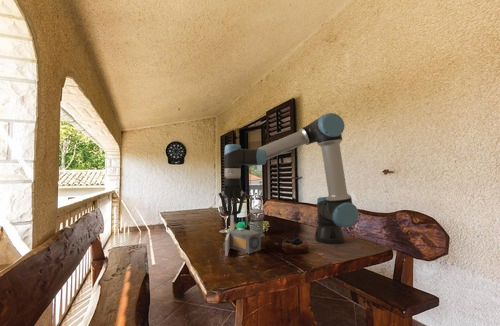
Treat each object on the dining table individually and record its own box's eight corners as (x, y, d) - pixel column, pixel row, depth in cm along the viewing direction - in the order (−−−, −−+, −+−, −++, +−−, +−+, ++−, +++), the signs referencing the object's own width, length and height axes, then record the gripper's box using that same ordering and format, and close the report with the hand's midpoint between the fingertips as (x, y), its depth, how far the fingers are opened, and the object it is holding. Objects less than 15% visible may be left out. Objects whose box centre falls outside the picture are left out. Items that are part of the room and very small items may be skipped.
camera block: (263, 250, 114) (262, 231, 114) (250, 254, 108) (250, 235, 109) (240, 244, 125) (240, 227, 125) (228, 247, 119) (228, 229, 119)
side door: (227, 255, 106) (227, 239, 106) (223, 255, 106) (223, 239, 106) (230, 247, 119) (230, 232, 119) (226, 247, 119) (226, 232, 119)
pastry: (279, 248, 118) (279, 235, 118) (303, 246, 120) (302, 234, 120) (285, 255, 107) (285, 242, 108) (311, 254, 109) (311, 240, 109)
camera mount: (255, 243, 127) (254, 223, 127) (241, 244, 125) (240, 224, 125) (249, 237, 139) (249, 219, 139) (236, 238, 137) (236, 220, 137)
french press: (259, 237, 137) (259, 193, 138) (242, 235, 143) (241, 192, 144) (267, 233, 145) (266, 192, 146) (250, 231, 151) (250, 191, 152)
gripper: (216, 177, 109) (216, 230, 108) (245, 177, 108) (245, 231, 107) (220, 177, 117) (220, 227, 116) (247, 177, 115) (247, 227, 114)
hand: (232, 229), depth 111 cm, fingers closed
